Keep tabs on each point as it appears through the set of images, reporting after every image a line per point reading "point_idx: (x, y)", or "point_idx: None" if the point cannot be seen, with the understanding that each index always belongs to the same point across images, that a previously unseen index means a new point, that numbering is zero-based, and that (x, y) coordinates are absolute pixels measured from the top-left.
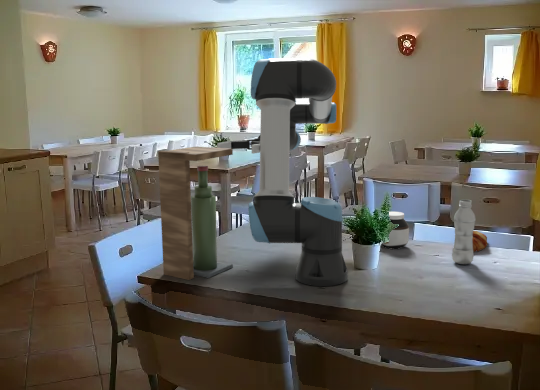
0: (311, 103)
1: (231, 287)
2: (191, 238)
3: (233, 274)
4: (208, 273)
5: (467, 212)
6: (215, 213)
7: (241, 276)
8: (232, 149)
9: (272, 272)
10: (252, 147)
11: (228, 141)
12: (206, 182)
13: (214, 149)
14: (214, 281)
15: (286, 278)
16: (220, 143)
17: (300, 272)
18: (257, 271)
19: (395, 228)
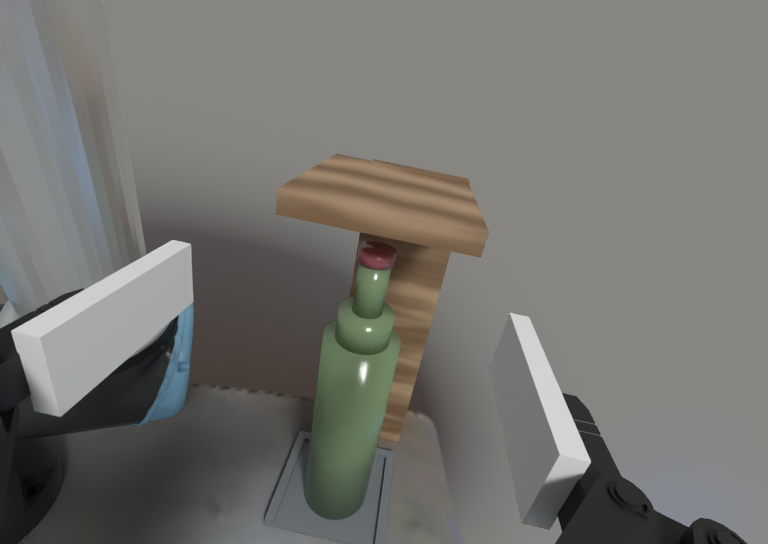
0: None
1: (233, 401)
2: None
3: (247, 469)
4: (302, 435)
5: None
6: (318, 379)
7: (223, 462)
8: (277, 191)
9: (131, 515)
10: (183, 260)
11: (626, 486)
12: (354, 292)
13: (343, 185)
14: (278, 421)
15: (92, 478)
16: (511, 325)
17: (49, 441)
18: (181, 510)
19: None
